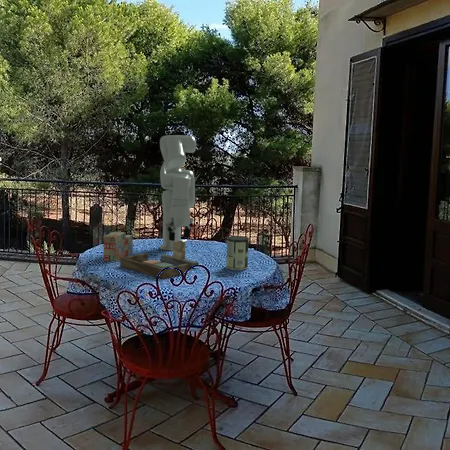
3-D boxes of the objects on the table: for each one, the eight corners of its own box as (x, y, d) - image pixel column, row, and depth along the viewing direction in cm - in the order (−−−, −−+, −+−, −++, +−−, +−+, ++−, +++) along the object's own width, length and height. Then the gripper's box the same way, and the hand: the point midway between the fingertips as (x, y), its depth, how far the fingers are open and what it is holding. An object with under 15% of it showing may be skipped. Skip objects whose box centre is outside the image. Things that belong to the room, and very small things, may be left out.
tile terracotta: (152, 265, 232) (152, 259, 231) (161, 268, 228) (161, 261, 228) (142, 268, 227) (142, 261, 227) (152, 270, 223) (152, 263, 223)
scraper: (165, 260, 244) (166, 237, 242) (198, 268, 230) (199, 244, 228) (159, 261, 241) (160, 238, 239) (192, 269, 227) (193, 246, 225)
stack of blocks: (121, 252, 257) (121, 228, 255) (132, 253, 256) (133, 229, 254) (103, 261, 236) (103, 235, 234) (115, 262, 235) (115, 236, 233)
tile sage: (164, 268, 227) (164, 262, 227) (172, 271, 223) (173, 264, 223) (153, 270, 223) (153, 264, 222) (162, 273, 219) (162, 266, 218)
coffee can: (237, 263, 241) (238, 235, 239) (252, 268, 233) (253, 238, 231) (221, 266, 234) (222, 237, 232) (236, 271, 226) (237, 240, 224)
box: (145, 261, 238) (146, 253, 238) (188, 272, 220) (188, 264, 220) (120, 266, 227) (120, 257, 226) (163, 279, 209) (163, 269, 208)
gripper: (187, 200, 240) (186, 234, 243) (160, 203, 227) (160, 240, 230) (199, 202, 235) (197, 237, 239) (172, 205, 222) (171, 243, 225)
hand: (179, 238), depth 234 cm, fingers open, 9 cm apart
